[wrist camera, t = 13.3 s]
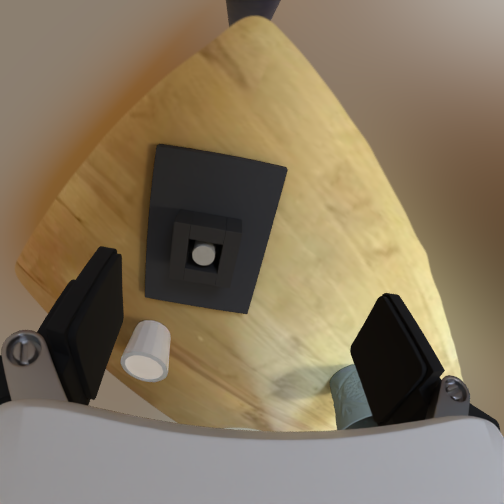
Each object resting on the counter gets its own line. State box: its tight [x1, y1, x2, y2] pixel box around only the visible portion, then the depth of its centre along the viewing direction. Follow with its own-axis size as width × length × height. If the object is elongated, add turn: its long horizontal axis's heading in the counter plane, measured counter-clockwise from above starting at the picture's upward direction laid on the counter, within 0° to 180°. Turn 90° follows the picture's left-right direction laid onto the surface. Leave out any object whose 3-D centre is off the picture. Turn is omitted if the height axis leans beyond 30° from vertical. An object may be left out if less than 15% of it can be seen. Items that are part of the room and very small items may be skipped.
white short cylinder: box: [121, 320, 171, 382], centre depth 40 cm, size 7×7×7 cm
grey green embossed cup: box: [330, 364, 378, 430], centre depth 46 cm, size 10×10×12 cm
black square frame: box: [169, 209, 243, 288], centre depth 33 cm, size 7×7×4 cm
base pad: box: [145, 144, 287, 314], centre depth 34 cm, size 20×14×5 cm
